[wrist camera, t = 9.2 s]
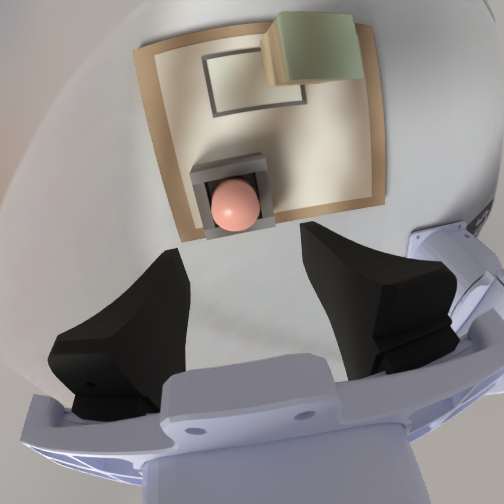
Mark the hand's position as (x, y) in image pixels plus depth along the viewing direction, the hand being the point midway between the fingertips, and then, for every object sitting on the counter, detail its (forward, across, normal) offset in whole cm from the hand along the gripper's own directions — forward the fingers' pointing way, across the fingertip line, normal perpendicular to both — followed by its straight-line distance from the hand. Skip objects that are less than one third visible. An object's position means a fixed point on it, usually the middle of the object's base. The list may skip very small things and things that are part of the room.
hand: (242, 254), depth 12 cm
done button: (+8, 0, 0) cm, 8 cm away
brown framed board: (+10, -4, -4) cm, 12 cm away
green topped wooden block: (+9, -6, -9) cm, 14 cm away
